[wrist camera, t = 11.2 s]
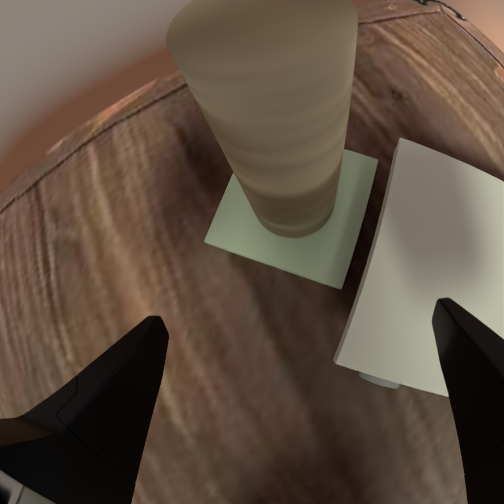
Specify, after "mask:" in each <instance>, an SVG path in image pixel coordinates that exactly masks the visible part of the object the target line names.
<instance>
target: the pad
mask: <svg viewBox="0 0 504 504" xmlns="http://www.w3.org/2000/svg"><path fill="white" fill-rule="evenodd" d="M377 163H378V159H375V158H372V157H369V156H366V155H362V154H359V153H356V152H353V151H349V150H346V149H344V152H343V158H342V164H341V171H340V177H339V183H338V188H337V194H336V200H335V205H334V210H333V213H332V215H331V217H330V219H329V220H328V222H327V223H326V224H325V225H324V226H323V227H322V228H321V229H320V230H318V231H317V232H315V233H313V234H311V235H309V236H306V237H302V238H285V237H280V236H278V235H275V234H273V233H271V232H270V231H268V230H267V229H266V228H265V227H264V226H263V225H262V224H261V223H260V222H259V220H258V219H257V217H256V215H255V213H254V211H253V209H252V207H251V205H250V203H249V201H248V199H247V197H246V196H245V194H244V192H243V190H242V188H241V186H240V184H239V182H238V180H237V178H236V176H235V174H234V172H233V174H232V176H231V179H230V181H229V183H228V186H227V188H226V190H225V193H224V195H223V197H222V200H221V202H220V204H219V207H218V209H217V211H216V214H215V216H214V218H213V221H212V223H211V226H210V228H209V231H208V233H207V235H206V238H205V240H204V242H205V243H207V244H209V245H212V246H215V247H218V248H221V249H224V250H226V251H229V252H232V253H235V254H238V255H241V256H244V257H246V258H249V259H252V260H255V261H258V262H261V263H264V264H267V265H269V266H272V267H275V268H278V269H281V270H284V271H287V272H290V273H292V274H295V275H298V276H301V277H304V278H307V279H310V280H313V281H316V282H319V283H321V284H324V285H327V286H330V287H333V288H336V289H339V290H341V289H342V286H343V283H344V280H345V277H346V274H347V271H348V268H349V265H350V262H351V258H352V255H353V252H354V249H355V245H356V242H357V239H358V235H359V232H360V228H361V225H362V221H363V218H364V214H365V211H366V207H367V203H368V199H369V196H370V192H371V188H372V184H373V180H374V176H375V172H376V167H377Z"/></svg>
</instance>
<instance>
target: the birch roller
mask: <svg viewBox="0 0 504 504" xmlns="http://www.w3.org/2000/svg"><path fill="white" fill-rule="evenodd" d="M357 28H358V15H357V11H356V9H355V7H354V5H353V4H352V2H351V1H350V0H193V1H192V2H190V3H189V4H188V5H186V6H185V7H184V8H183V9H182V10H181V11H180V12H179V13H178V14H177V15H176V17H175V18H174V19H173V21H172V22H171V24H170V26H169V29H168V31H167V38H166V41H167V46H168V49H169V52H170V53H171V55H172V57H173V59H174V61H175V63H176V64H177V66H178V68H179V70H180V72H181V74H182V76H183V77H184V79H185V81H186V83H187V85H188V87H189V89H190V90H191V92H192V94H193V96H194V98H195V100H196V102H197V103H198V105H199V107H200V109H201V111H202V113H203V115H204V117H205V119H206V120H207V122H208V124H209V126H210V128H211V130H212V132H213V134H214V136H215V138H216V139H217V141H218V143H219V145H220V147H221V149H222V151H223V153H224V155H225V157H226V159H227V161H228V163H229V164H230V166H231V168H232V170H233V172H234V174H235V176H236V178H237V180H238V182H239V184H240V186H241V188H242V190H243V192H244V194H245V196H246V197H247V199H248V201H249V203H250V205H251V207H252V209H253V211H254V213H255V215H256V217H257V219H258V220H259V222H260V223H261V224H262V225H263V226H264V227H265V228H266V229H267V230H268V231H270V232H271V233H273V234H275V235H278V236H280V237H285V238H302V237H306V236H309V235H311V234H313V233H315V232H317V231H318V230H320V229H321V228H322V227H323V226H324V225H325V224H326V223H327V222H328V220H329V219H330V217H331V215H332V213H333V210H334V205H335V200H336V194H337V188H338V183H339V177H340V171H341V164H342V158H343V152H344V145H345V138H346V131H347V124H348V116H349V109H350V101H351V92H352V83H353V74H354V64H355V53H356V41H357Z"/></svg>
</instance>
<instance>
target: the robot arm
mask: <svg viewBox="0 0 504 504" xmlns="http://www.w3.org/2000/svg"><path fill="white" fill-rule="evenodd" d="M432 327H433V331H434V336H435V341H436V346H437V351H438V357H439V362H440V366H441V370H442V373H443V377H444V380H445V384H446V388H447V392H448V395H449V399H450V403H451V407H452V412H453V416H454V420H455V425H456V430H457V435H458V440H459V445H460V450H461V456H462V462H463V469H464V474H465V475H464V477H465V484H466V492H467V502H468V504H504V339H503V338H502V337H500V336H499V335H498V334H497V333H495V332H494V331H493V330H492V329H490V328H489V327H488V326H487V325H485V324H484V323H483V322H481V321H480V320H479V319H478V318H476V317H475V316H474V315H472V314H471V313H470V312H468V311H467V310H466V309H464V308H463V307H462V306H460V305H459V304H458V303H456V302H455V301H454V300H452V299H451V298H449V297H445V298H439V299H438V300H437V301H436V305H435V308H434V312H433V315H432ZM168 341H169V334H168V331H167V329H166V327H165V324H164V322H163V320H162V318H161V317H160V316H148V317H146V318H145V319H144V320H143V321H142V322H140V323H139V324H138V325H137V326H135V327H134V328H133V329H132V330H131V331H129V332H128V333H127V334H126V335H124V336H123V337H122V338H121V339H120V340H118V341H117V342H116V343H115V344H114V345H112V346H111V347H110V348H109V349H108V350H106V351H105V352H104V353H103V354H101V355H100V356H99V357H98V358H97V359H95V360H94V361H93V362H92V363H91V364H89V365H88V366H87V367H86V368H85V369H83V370H82V371H81V372H80V373H79V374H78V375H76V376H75V377H74V378H73V379H71V380H70V381H69V382H68V383H67V384H65V385H64V386H63V387H62V388H60V389H59V390H58V391H56V392H55V393H54V394H52V395H51V396H50V397H48V398H47V399H45V400H44V401H42V402H41V403H40V404H38V405H37V406H35V407H34V408H33V409H31V410H30V411H28V412H27V413H25V414H24V415H21V416H19V417H16V418H8V419H0V504H131V502H132V498H133V493H134V489H135V484H136V483H135V482H136V479H137V475H138V471H139V466H140V462H141V458H142V454H143V450H144V446H145V442H146V438H147V434H148V430H149V426H150V422H151V418H152V414H153V410H154V407H155V403H156V399H157V396H158V392H159V388H160V385H161V381H162V377H163V371H164V365H165V359H166V353H167V347H168Z"/></svg>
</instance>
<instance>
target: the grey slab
mask: <svg viewBox="0 0 504 504" xmlns="http://www.w3.org/2000/svg"><path fill="white" fill-rule="evenodd" d="M445 297H449V298H451V299H452V300H454V301H455V302H456V303H458V304H459V305H460V306H462V307H463V308H464V309H466V310H467V311H468V312H470V313H471V314H472V315H474V316H475V317H476V318H478V319H479V320H480V321H481V322H483V323H484V324H485V325H487V326H488V327H489V328H490V329H492V330H493V331H494V332H495V333H497V334H498V335H499V336H500V337H502V338H503V339H504V182H503V181H501V180H500V179H498V178H496V177H494V176H492V175H489V174H487V173H485V172H483V171H481V170H479V169H477V168H475V167H473V166H470V165H468V164H466V163H464V162H462V161H459V160H457V159H455V158H452V157H450V156H448V155H445V154H443V153H440V152H438V151H435V150H433V149H430V148H428V147H425V146H422V145H420V144H417V143H414V142H412V141H409V140H406V139H403V138H400V139H399V141H398V144H397V146H396V148H395V151H394V155H393V160H392V165H391V169H390V174H389V178H388V183H387V187H386V192H385V196H384V200H383V204H382V208H381V212H380V216H379V220H378V224H377V228H376V231H375V235H374V239H373V242H372V246H371V249H370V253H369V256H368V259H367V263H366V266H365V269H364V273H363V276H362V279H361V282H360V285H359V288H358V292H357V295H356V298H355V301H354V304H353V306H352V309H351V312H350V315H349V318H348V321H347V324H346V326H345V329H344V332H343V335H342V337H341V340H340V343H339V345H338V348H337V351H336V353H335V356H334V358H333V361H334V362H335V364H338V365H341V366H344V367H347V368H350V369H353V370H356V371H359V375H358V376H359V377H361V378H363V379H365V380H367V381H370V382H373V383H375V384H378V385H381V386H385V387H389V388H393V389H398V387H399V385H400V384H403V385H406V386H410V387H413V388H417V389H421V390H424V391H428V392H432V393H436V394H440V395H444V396H448V397H449V395H448V392H447V388H446V384H445V380H444V377H443V373H442V370H441V366H440V362H439V357H438V351H437V346H436V341H435V336H434V331H433V327H432V315H433V312H434V308H435V305H436V301H437V300H438V299H439V298H445Z"/></svg>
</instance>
